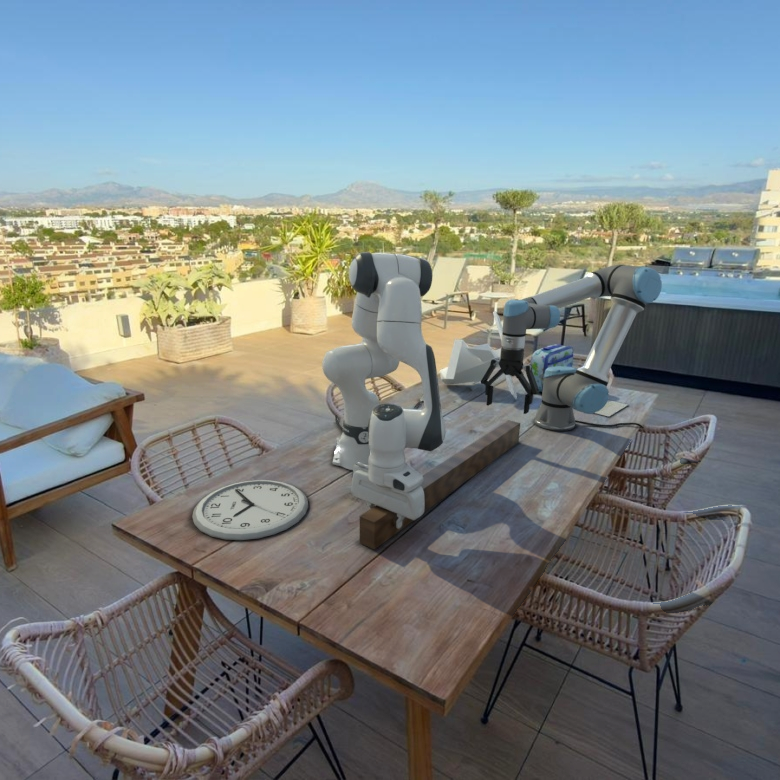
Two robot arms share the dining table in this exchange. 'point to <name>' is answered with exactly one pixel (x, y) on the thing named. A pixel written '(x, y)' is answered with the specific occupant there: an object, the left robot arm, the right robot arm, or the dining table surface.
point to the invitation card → (611, 408)
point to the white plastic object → (473, 362)
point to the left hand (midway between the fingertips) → (386, 522)
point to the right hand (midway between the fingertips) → (507, 408)
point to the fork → (419, 402)
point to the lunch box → (550, 360)
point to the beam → (442, 481)
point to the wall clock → (250, 510)
